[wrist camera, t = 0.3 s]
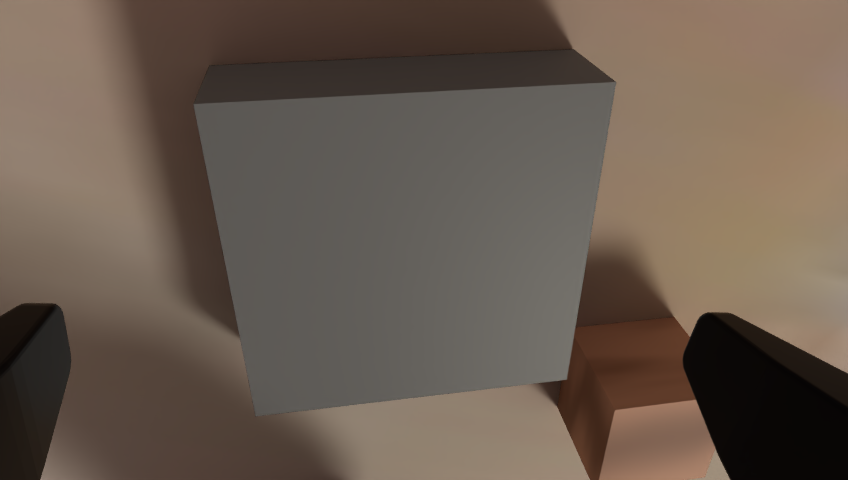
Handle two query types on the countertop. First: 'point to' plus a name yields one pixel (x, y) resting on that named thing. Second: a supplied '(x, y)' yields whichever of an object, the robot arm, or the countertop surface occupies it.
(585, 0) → the countertop surface
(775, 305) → the countertop surface
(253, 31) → the countertop surface
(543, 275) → the plinth
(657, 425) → the cube
